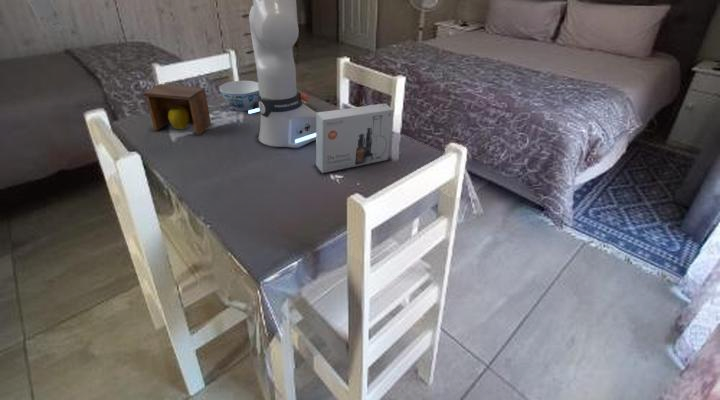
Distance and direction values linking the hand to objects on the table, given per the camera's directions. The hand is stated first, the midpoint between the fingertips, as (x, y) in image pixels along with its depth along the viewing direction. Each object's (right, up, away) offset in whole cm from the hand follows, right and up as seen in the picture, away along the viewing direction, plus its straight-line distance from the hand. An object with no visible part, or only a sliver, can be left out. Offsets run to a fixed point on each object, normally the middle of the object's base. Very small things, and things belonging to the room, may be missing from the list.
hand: (56, 22), depth 93 cm
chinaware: (+29, -8, +53) cm, 61 cm away
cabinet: (+14, -19, +35) cm, 42 cm away
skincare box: (+70, -32, +19) cm, 80 cm away
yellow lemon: (+14, -19, +35) cm, 42 cm away
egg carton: (+48, -8, +54) cm, 73 cm away
